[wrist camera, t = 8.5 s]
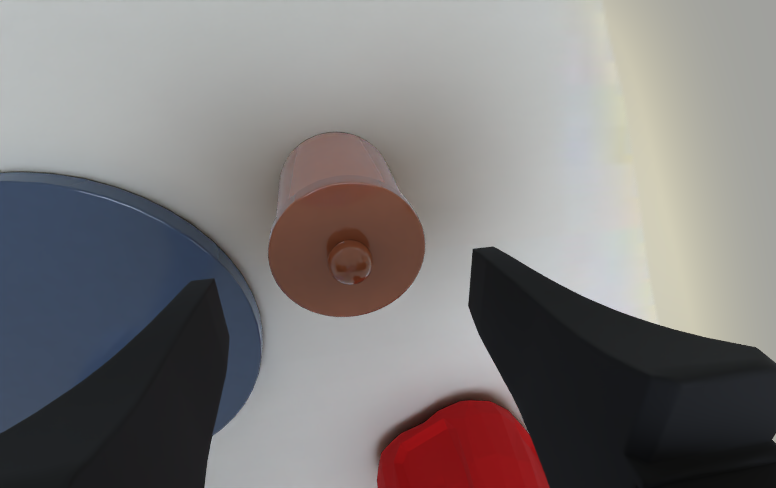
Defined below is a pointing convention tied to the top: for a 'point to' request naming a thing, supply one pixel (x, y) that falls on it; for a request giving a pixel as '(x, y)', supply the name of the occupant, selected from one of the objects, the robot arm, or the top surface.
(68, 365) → the plate
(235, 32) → the top surface
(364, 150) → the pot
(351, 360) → the top surface
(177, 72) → the top surface
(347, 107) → the top surface
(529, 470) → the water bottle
